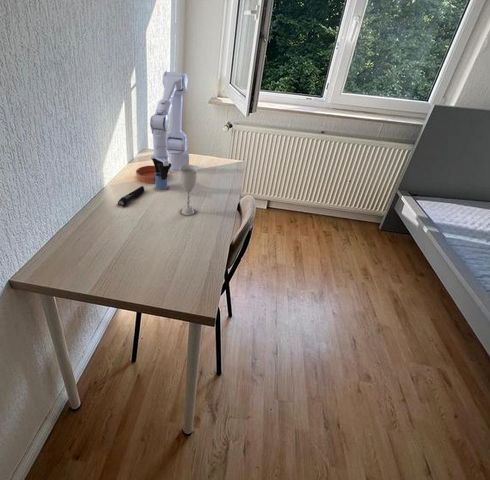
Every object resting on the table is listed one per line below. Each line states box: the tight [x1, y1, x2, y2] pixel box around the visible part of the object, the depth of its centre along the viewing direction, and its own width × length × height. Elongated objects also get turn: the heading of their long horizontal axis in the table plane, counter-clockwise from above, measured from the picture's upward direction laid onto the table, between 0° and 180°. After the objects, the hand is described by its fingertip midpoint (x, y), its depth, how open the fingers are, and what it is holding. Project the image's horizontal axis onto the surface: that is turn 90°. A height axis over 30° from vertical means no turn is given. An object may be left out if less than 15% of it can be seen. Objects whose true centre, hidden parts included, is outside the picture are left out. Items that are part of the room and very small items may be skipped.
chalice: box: [179, 164, 199, 216], centre depth 132 cm, size 7×7×18 cm
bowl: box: [135, 165, 156, 184], centre depth 162 cm, size 14×14×4 cm
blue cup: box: [154, 172, 169, 191], centre depth 152 cm, size 5×5×6 cm
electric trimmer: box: [117, 185, 145, 208], centre depth 143 cm, size 4×16×3 cm, turn 153°
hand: (161, 175), depth 151 cm, fingers open, 7 cm apart
